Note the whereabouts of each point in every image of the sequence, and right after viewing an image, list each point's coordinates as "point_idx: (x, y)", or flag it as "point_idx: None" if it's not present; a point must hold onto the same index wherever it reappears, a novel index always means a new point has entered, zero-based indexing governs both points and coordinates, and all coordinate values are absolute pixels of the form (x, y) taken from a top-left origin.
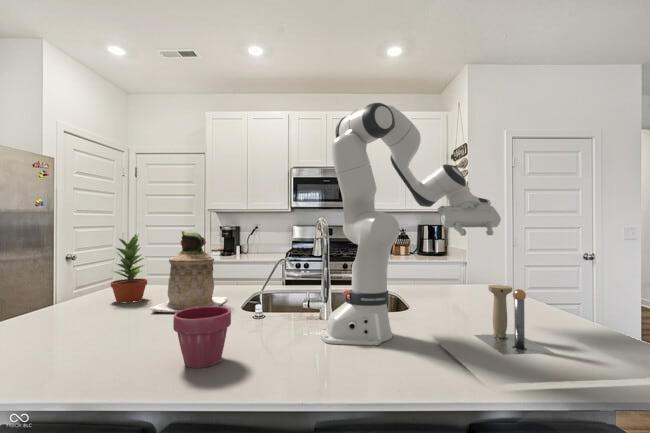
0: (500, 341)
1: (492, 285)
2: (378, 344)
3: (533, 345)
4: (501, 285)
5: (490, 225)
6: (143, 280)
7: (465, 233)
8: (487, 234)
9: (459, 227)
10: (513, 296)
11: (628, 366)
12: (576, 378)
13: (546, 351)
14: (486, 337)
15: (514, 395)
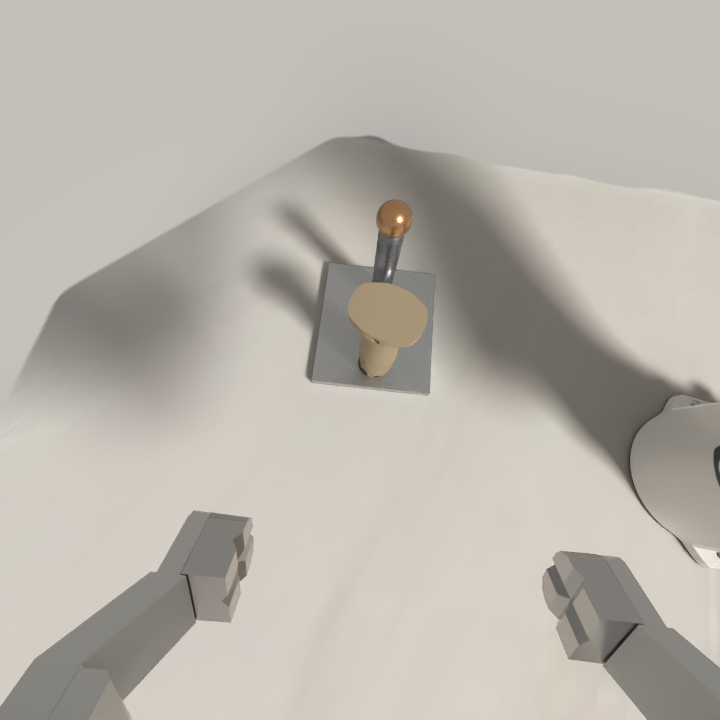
0: None
1: (400, 338)
2: (671, 397)
3: (337, 303)
4: (365, 332)
5: (85, 682)
6: None
7: (567, 553)
8: (248, 565)
9: (705, 657)
10: (410, 226)
11: (235, 213)
12: (366, 196)
13: (338, 271)
14: (408, 370)
15: (495, 174)
